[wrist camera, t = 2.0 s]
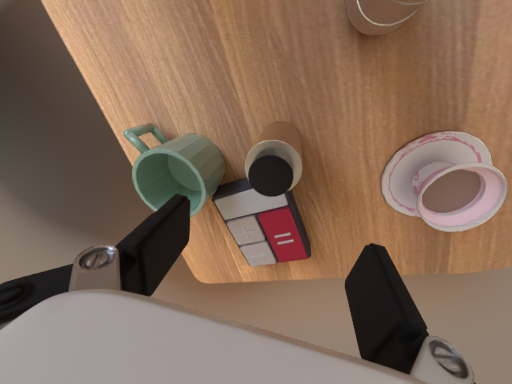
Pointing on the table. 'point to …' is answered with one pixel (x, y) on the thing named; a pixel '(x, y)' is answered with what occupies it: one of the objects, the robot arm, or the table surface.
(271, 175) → the flask
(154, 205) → the mug
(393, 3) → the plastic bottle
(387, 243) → the table surface
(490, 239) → the table surface
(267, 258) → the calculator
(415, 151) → the teacup
